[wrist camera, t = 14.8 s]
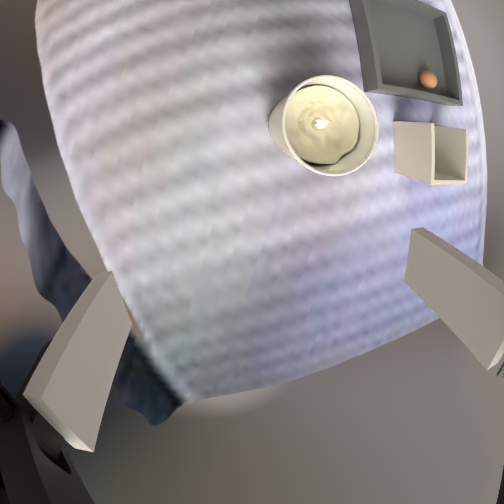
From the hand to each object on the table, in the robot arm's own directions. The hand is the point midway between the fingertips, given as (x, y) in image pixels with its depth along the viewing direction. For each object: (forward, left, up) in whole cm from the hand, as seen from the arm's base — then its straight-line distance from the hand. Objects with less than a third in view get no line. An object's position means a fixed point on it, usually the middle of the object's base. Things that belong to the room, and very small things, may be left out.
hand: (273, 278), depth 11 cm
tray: (-20, +28, -27) cm, 43 cm away
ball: (-14, +30, -24) cm, 41 cm away
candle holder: (-6, +9, -27) cm, 29 cm away
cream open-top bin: (-3, +28, -27) cm, 39 cm away
